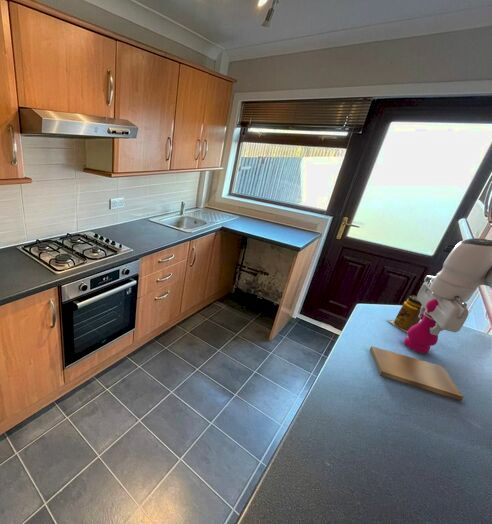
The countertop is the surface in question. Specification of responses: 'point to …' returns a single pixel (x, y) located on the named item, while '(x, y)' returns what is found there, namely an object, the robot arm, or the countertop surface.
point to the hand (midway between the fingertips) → (426, 325)
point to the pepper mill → (423, 331)
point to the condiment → (408, 314)
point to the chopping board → (415, 372)
